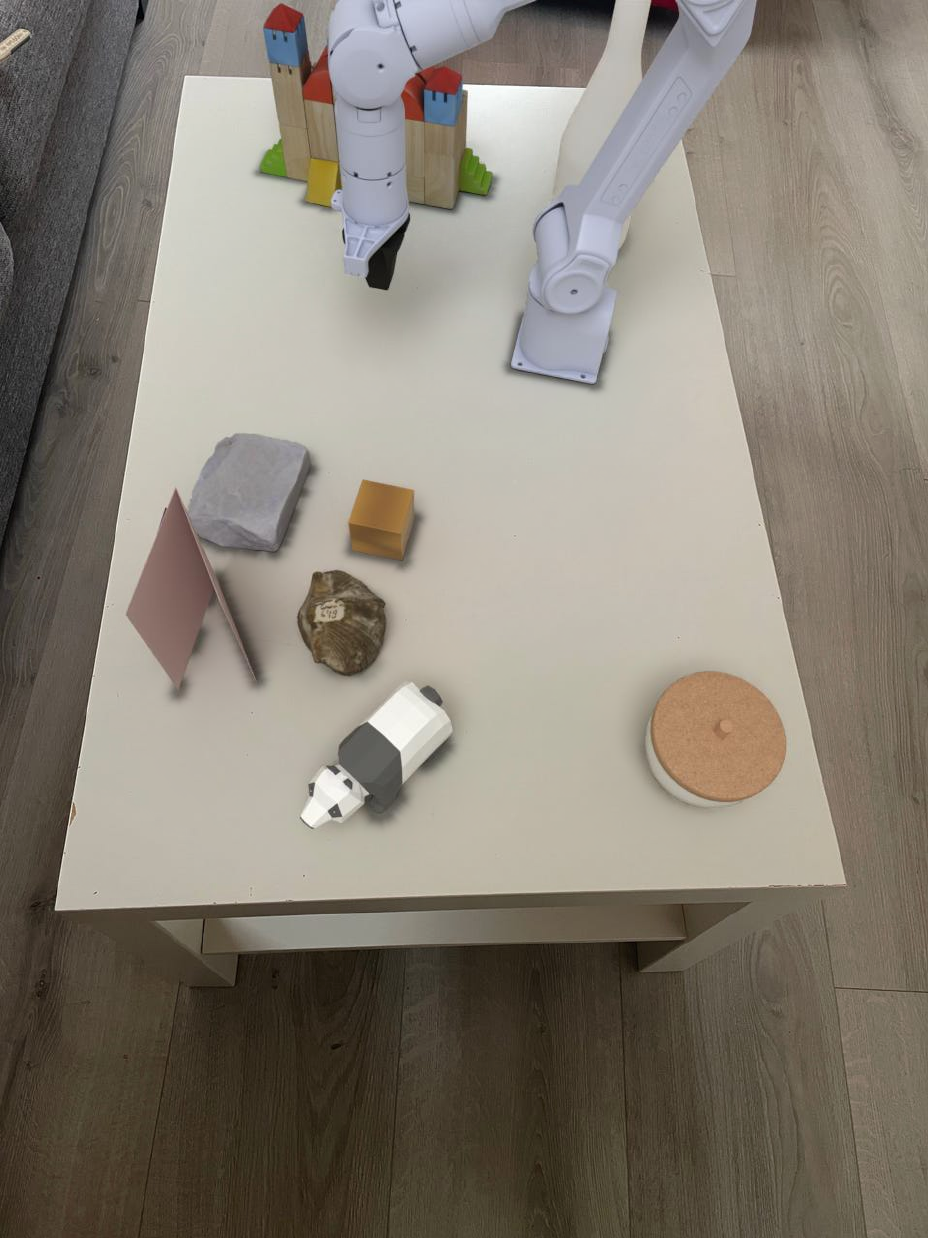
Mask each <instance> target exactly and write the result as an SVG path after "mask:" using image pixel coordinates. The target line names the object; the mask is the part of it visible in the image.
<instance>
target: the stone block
mask: <svg viewBox="0 0 928 1238" xmlns="http://www.w3.org/2000/svg"><path fill="white" fill-rule="evenodd" d="M213 451H214V452H213V453H212V455H211V456H210V457H209V458H207V460H206V461H205V463H204V465H203V467H202V468H201V471H200V473H199V475H198V479H197V480H196V482H195V484H194V485H193V488H192V491H191V498H190V499H189V504H188V507H187V508H188V509H187V510H186V511H187V513H188V515H189V517H190V520H191V522H192V524H193V526H194V529H195V531H196V533H197V535H198V537H200V538H202V539H204V540H208V541H209V542H211V543H213V544H215V545H217V546H219V547H223V548H241V549H248V550H253V551H255V550H258V551H266V552H272V553H273V552H277V551H278V550H279V548H280V547H281V545H282V542H283V540H284V537H285V535H286V532H287V529H288V526H289V524H290V521H291V519H292V516H293V513H294V511H295V508H296V506H297V503H298V500H299V497H300V494H301V492H302V488H303V487H304V485H305V484H304V483H305V481H306V479H307V477H308V473H309V471H310V467H311V461H312V460H311V455H310V452H309V450H308V448H307V447H306V446H305V445H304V444H302V443H299V442H296V441H291V440H287V439H280V438H275V437H271V436H266V435H262V434H257V433H247V432H243V433H242V432H237V433H236V432H235V433H234V434H232V435H231V436H230V437H229V436H226V437H224V438H222V439H221V440H220V441H218V442H217V443H216V444H215V446H214V450H213Z"/></svg>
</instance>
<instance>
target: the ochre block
mask: <svg viewBox="0 0 928 1238" xmlns="http://www.w3.org/2000/svg"><path fill="white" fill-rule="evenodd" d="M347 522H348V523H347V524H348V529H349V537H350V544H351V551H354V552H358V553H363V554H367V555H372V556H377V557H382V558H387V559H392V560H397V561H400V562H401V561H403V559H404V557H405V553H406V550H407V546H408V542H409V539H410V534H411V533H412V528H413V525H414V522H415V490H414V489H413V488H407V487H402V486H397V485H392V484H387V483H382V482H378V481H373V480H368V479H362V480H361V483H360V486H359V489H358V492H357V494H356V498H355V501H354V504H353V507H352V510H351V513H350V516H349V518H348V521H347Z"/></svg>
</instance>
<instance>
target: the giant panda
mask: <svg viewBox="0 0 928 1238" xmlns="http://www.w3.org/2000/svg"><path fill="white" fill-rule="evenodd" d="M443 703H444V700H443V699H442V697H441V695H440V693H438V690H436V689H435V687H432V686H430V685H428V684H427V685H426V686H424V687H421V689H420V688H419V687H417V685H416V684H414V683H413V681H404V682H402V683H401V684H400V685H398V686H397V687H396V688H395V689H394V690H393V692H391V693H390V694H389V695H388V697H387V698H386V699H385V700H383V702H382V703H381V704H380V705H379V706H378V708H376V709H375V710H374V711H373V712H372V713H370V715H369V716H367V717H366V718H365V719H364V720H363V721H362V722H361V723H360V724H358V725H357V726H356V727H355V728H354V729H353V730H352V731H351V732H350V733H349V734H348V735H347V736H345V738H343V740H342V741H341V742H340V743H339V745H338V752H337V756H338V764H335V765H332V764H331V765H322V766H321V768H320V769H318V771H317V772H316V774H315V775H314V776H313V777H312V779H311V780H310V781H309V782H308V786H307V787H308V794H309V796H308V799H307V801H306V803H305V805H304V806H303V809H302V812H301V814H300V816H299V819H300V821H301V822H302V823H303V824H304V825H305V826H307V827H308V828H309V829H312V830H314V829H316V828H319V827H320V826H323V825H325V824H327V823H329V822H330V821H333V822H334V821H335V822H338V823H341V824H342V823H343V822H344V821H346V820H347V819H348V818H350V816H352V815H353V814H354V813H355V812H357V811H358V810H359V809H360V808H361V807H362V806H363V805H365V797H366V796H369V795H371V796H372V797H371V798H370V801H369V806H370V807H371V809H372V811H373V812H375V813H377V814H380V815H381V814H383V813H384V812H385V811H386V810H388V808H389V807H390V806H391V805H392V804H393V803H394V801H395V800H396V798H397V797H398V794H399V791H400V789H401V788H402V787H403V785H404V784H405V783H406V781H408V779H409V778H411V776H412V775H413V774H414V773H415V772H416V771H417V770H418V769H419V767H421V765H423V763H425V762H426V763H428V762H430V761H432V759H434V757H436V756H437V755H439V753H440V751H441V750H442V748H443V747H444V746H445V742H446V740H447V739H448V738H449V737H450V736H451V735H452V733H453V731H454V730H453V725H452V721H451V719H450V717H449V715H448V714H447V712H446V710H444V709H443V708H442V707H441V706H442V704H443Z"/></svg>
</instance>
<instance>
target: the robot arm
mask: <svg viewBox="0 0 928 1238" xmlns="http://www.w3.org/2000/svg"><path fill="white" fill-rule="evenodd" d="M536 1H537V0H338V1H337V2H336V3H335V5H334V7H335V8H334V9H331V13H330V16H329V19H328V24H327V26H326V29H327V36H328V35H329V42H328V68H329V74H330V79H331V82H332V85H333V87H334V96H335V99H336V102H335V109H334V110H335V120H336V131H337V141H338V152H339V161H340V171H341V182H342V189H340V190H336V191H335V192H334V194H333V197H332V199H331V207H330V208H331V209H332V210H334V211H338V212H340V213H341V215H342V224H343V228H342V231H341V236H342V237H341V238H342V243H343V244H344V245H345V247H344V252H343V255H342V260H343V270H344V274H346V275H350V276H355V277H361V278H365V281H366V283H367V286H368V288H370V289H371V288H372V289H376V290H380V291H381V290H382V291H386V292H388V291H389V289H390V286H391V284H392V280H393V277H394V274H395V269H396V263H397V259H398V258H397V257H398V253H399V251H400V249H401V247H402V244H403V242H404V239H405V235H406V233H407V231H408V228H409V224H410V222H411V213H410V202H409V201H408V195H407V188H406V152H405V108H404V103H403V100H402V98H401V93H402V92H403V89H404V87H405V84H406V83H407V81H408V80H409V79H411V78H413V77H415V74H416V73H418V72H421V71H423V70H425V69H427V68H429V67H431V66H434V67H435V66H436V65H438V64H440V63H443V62H445V61H446V60H449V59H451V58H453V57H455V56H458V55H460V54H462V53H464V52H466V51H468V50H470V49H472V48H475V47H476V46H479V45H482V44H483V43H485V42H488V41H489V40H491V39H493V38H494V36H495V34H496V32H497V29H498V27H499V25H500V23H501V21H502V19H503V17H504V15H505V14H506V13H507V12H510V11H512V10H515V9H517V8H520V7H523V6H525V5H528V4H530V3H533V2H536ZM757 1H758V0H674V2H675V3H676V4H677V8H678V13H679V15H678V16H679V17H678V18H677V21H676V23H674V26H673V28H672V29H671V31H670V33H669V35H668V36H667V38H666V39H665V41H664V42H663V44H662V46H661V47H660V50H659V51H658V53H657V54H656V56H655V58H654V59H653V61H652V63H651V64H650V66H649V67H648V69H647V71H646V72H645V74H644V76H643V77H642V81H641V83H640V84H639V86H638V88H637V89H636V91H635V93H634V94H633V96H632V98H631V99H630V101H629V102H628V104H627V106H626V107H625V109H624V111H623V112H622V114H621V116H620V117H619V119H618V121H617V122H616V124H615V126H614V127H613V129H612V131H611V132H610V134H609V136H608V137H607V139H606V141H605V142H604V144H603V146H602V147H601V149H600V151H599V152H598V154H597V156H596V157H595V159H594V161H593V162H592V164H591V166H590V167H589V169H588V171H587V172H586V174H585V176H584V177H583V179H582V181H581V182H580V184H579V185H566V186H565V187H564V189H563V191H562V192H561V194H560V195H559V197H558V198H557V199H556V200H555V201H554V202H553V203H550V204H548V205H547V206H545V207H544V208H543V209H542V210H541V211H540V212H539V213H538V214H537V215H536V217H535V219H534V222H533V224H532V236H533V241H534V243H535V248H536V255H537V260H536V262H535V264H534V265H533V267H532V268H531V271H530V272H529V273H530V274H529V276H528V282H527V290H526V298H525V303H524V304H525V305H524V311H523V315H522V318H521V322H520V325H519V331H518V334H517V338H516V341H515V346H514V350H513V354H512V357H511V361H510V367H511V368H512V369H514V370H519V371H524V372H528V373H534V374H539V375H545V376H549V377H554V378H555V377H556V378H560V379H565V380H570V381H574V382H575V381H576V382H581V383H584V384H590V385H593V384H596V383H597V380H598V379H597V378H598V375H599V370H600V366H601V363H602V360H603V359H602V358H603V355H604V354H606V353H607V348H608V346H609V345H608V344H609V340H610V336H609V332H610V327H611V323H612V320H613V315H614V310H615V304H616V299H617V295H618V290H617V289H615V288H612V287H609V286H607V281H608V277H609V274H610V272H611V271H612V270H613V268H614V267H615V265H616V264H617V260H618V256H619V250H620V249H619V244H620V238H621V233H622V228H623V224H624V222H625V221H626V220H627V218H628V217H629V215H630V214H631V212H632V211H634V210H635V208H636V207H637V205H638V203H639V202H640V201H641V199H642V198H643V196H644V195H645V193H646V192H647V191H648V189H649V187H650V186H651V185H652V183H653V181H654V180H655V179H656V177H657V175H658V174H659V173H660V172H661V170H662V168H663V167H664V165H665V164H666V162H667V161H668V159H669V158H670V156H671V155H672V154H673V152H674V151H675V149H676V148H677V146H678V145H679V143H680V142H681V140H683V137H684V136H685V135H686V133H687V132H688V131H689V129H690V127H691V126H692V124H693V123H694V121H695V120H696V119H697V117H698V116H699V114H700V113H701V111H702V110H703V108H704V107H705V105H706V104H707V102H708V101H709V100H710V98H711V97H712V95H713V94H714V93H715V91H716V89H717V88H718V86H719V85H720V83H721V82H722V81H723V79H724V77H725V76H726V74H727V73H728V72H729V70H730V69H731V67H732V66H733V64H734V63H735V62H736V60H737V58H738V57H739V55H741V52H742V51H743V50H744V48H745V47H746V45H747V43H748V41H749V39H750V38H751V35H752V30H753V26H754V25H753V24H754V20H755V19H754V18H755V12H756V7H757ZM632 213H633V212H632ZM618 249H619V250H618Z"/></svg>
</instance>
